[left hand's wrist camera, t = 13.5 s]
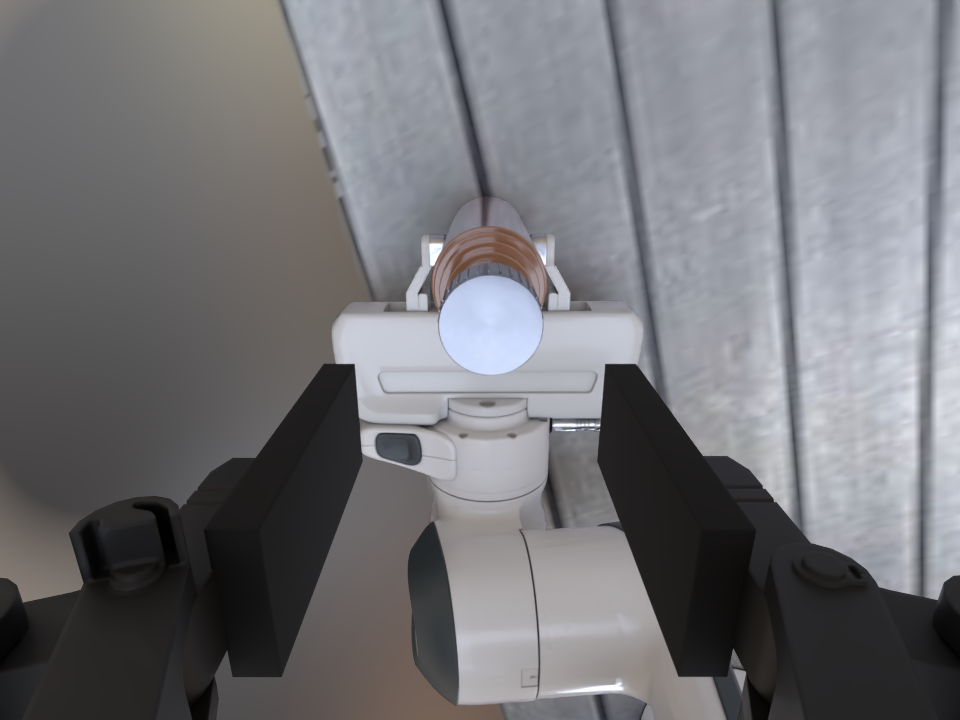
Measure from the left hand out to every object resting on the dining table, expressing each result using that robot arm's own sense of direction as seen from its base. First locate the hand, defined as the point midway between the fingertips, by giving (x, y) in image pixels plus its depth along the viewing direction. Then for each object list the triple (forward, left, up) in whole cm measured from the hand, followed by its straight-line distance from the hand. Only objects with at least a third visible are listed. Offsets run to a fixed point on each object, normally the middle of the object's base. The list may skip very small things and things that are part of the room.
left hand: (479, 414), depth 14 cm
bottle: (0, 0, -30) cm, 30 cm away
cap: (0, 0, -7) cm, 7 cm away
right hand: (-1, 0, -24) cm, 24 cm away
